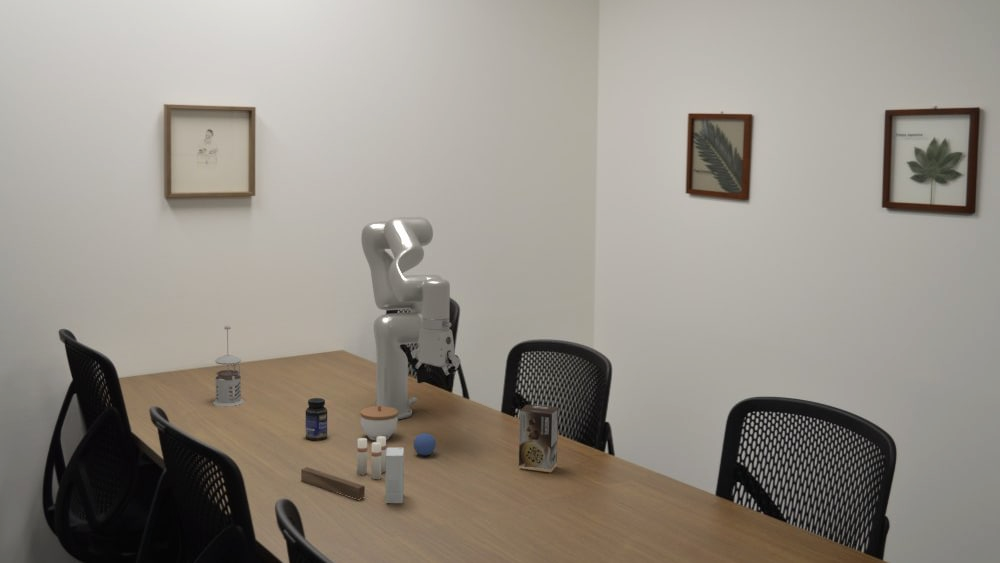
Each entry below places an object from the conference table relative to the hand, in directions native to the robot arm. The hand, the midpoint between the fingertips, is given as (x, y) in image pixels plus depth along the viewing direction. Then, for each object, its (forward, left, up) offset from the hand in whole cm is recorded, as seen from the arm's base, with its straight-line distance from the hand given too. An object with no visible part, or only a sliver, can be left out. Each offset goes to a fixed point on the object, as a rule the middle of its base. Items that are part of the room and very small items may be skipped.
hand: (434, 385), depth 266 cm
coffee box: (-5, +31, -18) cm, 37 cm away
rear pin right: (+28, 0, -18) cm, 33 cm away
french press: (+9, -79, -18) cm, 81 cm away
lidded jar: (+4, -18, -18) cm, 25 cm away
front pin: (+24, +2, -18) cm, 30 cm away
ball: (+7, +2, -15) cm, 16 cm away
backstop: (+41, +2, -18) cm, 44 cm away
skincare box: (+36, +18, -18) cm, 44 cm away
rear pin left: (+28, +5, -18) cm, 33 cm away
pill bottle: (+16, -31, -18) cm, 39 cm away
